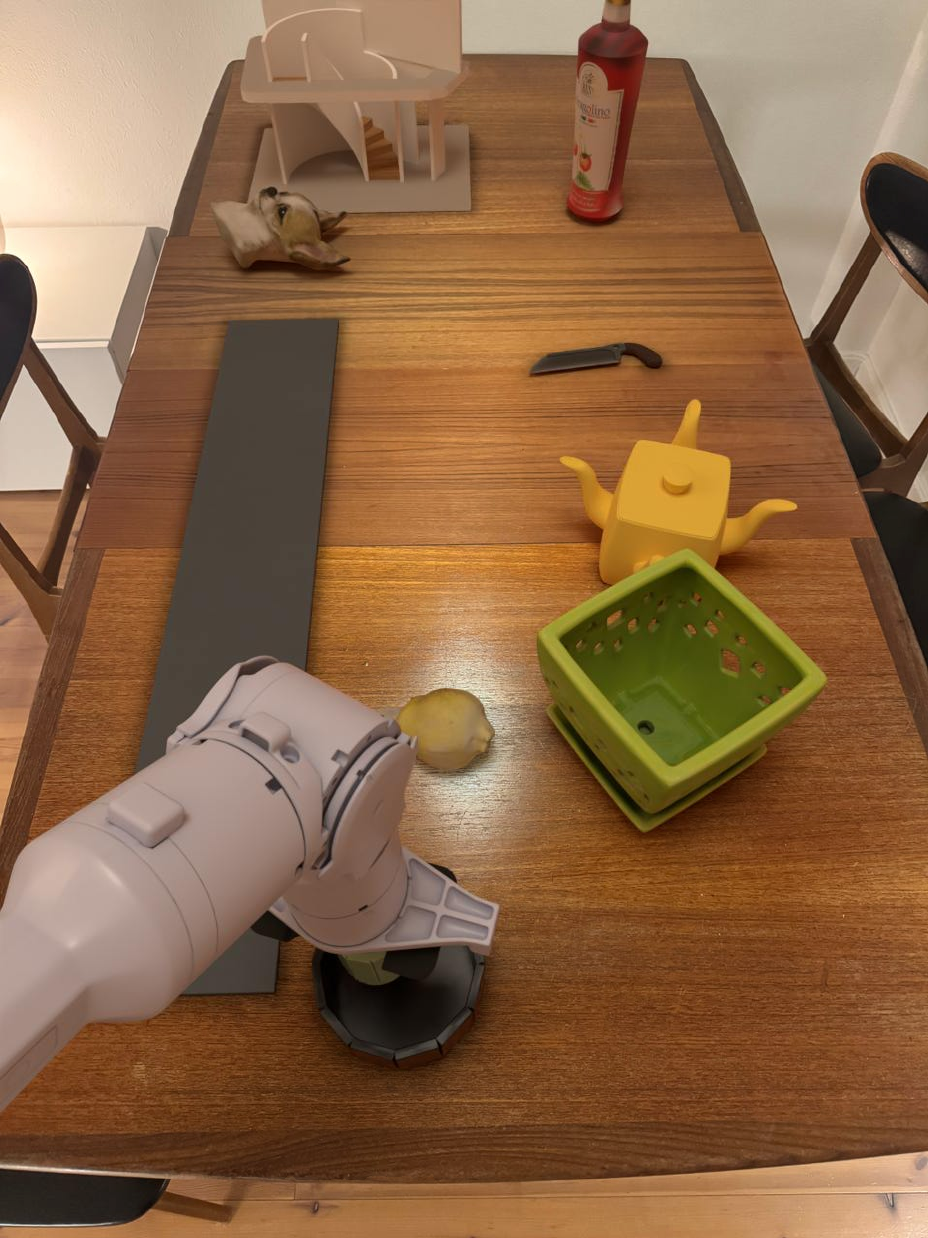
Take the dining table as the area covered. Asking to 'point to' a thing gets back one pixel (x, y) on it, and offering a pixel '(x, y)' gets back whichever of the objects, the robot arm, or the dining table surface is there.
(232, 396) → the mat
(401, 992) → the large pot
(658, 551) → the teapot
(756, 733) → the flower pot
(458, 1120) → the dining table surface
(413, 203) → the architectural model
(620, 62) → the liquor
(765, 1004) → the dining table surface
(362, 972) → the small pot
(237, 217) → the ceramic sculpture
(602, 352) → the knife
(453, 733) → the fruit
